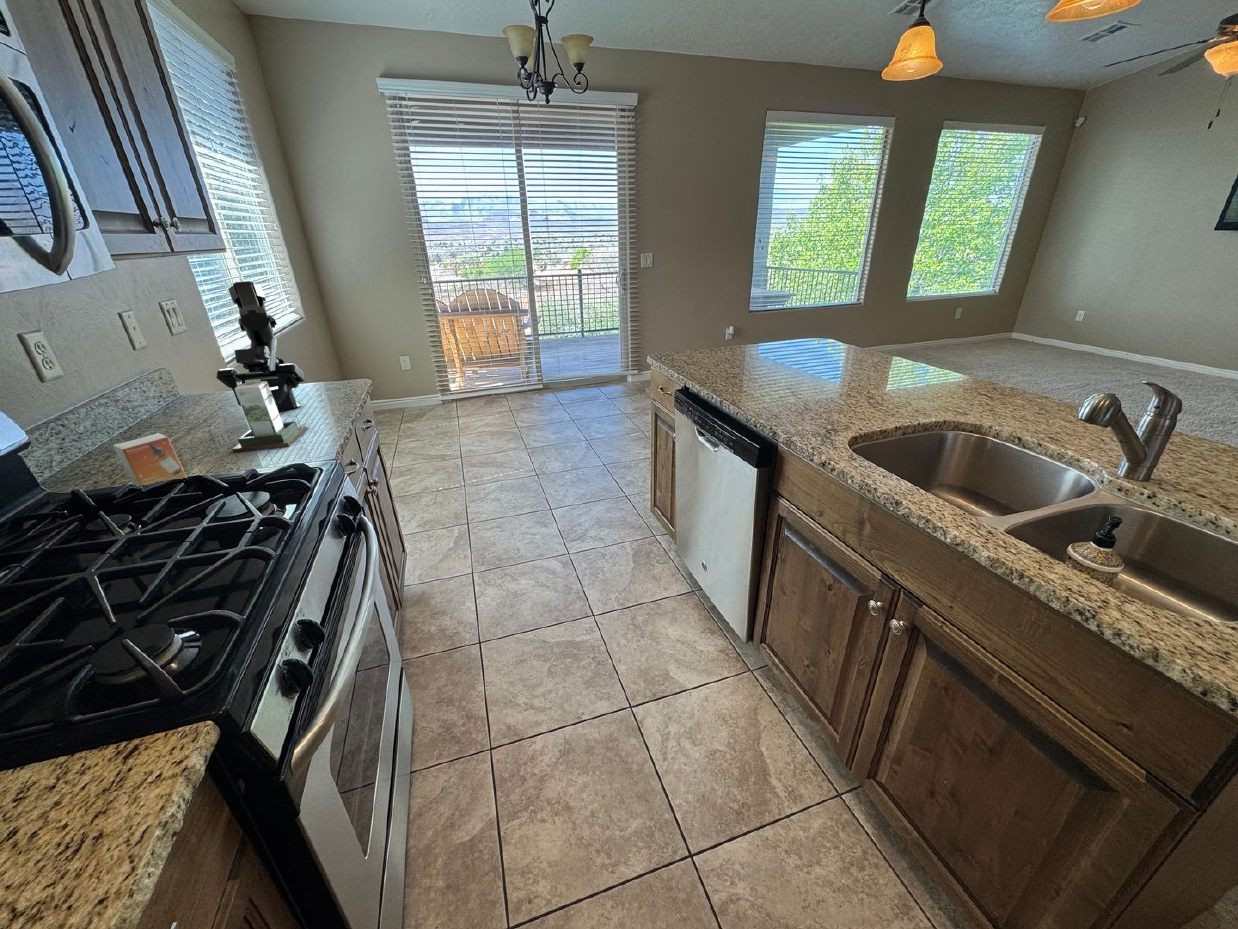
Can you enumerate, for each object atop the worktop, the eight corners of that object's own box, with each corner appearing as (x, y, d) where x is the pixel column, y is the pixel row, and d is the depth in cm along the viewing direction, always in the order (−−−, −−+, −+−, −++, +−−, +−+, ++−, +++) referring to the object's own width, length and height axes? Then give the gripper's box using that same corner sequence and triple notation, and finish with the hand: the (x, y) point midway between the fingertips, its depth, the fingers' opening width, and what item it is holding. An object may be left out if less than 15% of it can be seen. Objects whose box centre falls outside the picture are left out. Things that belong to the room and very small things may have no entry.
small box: (144, 494, 104) (120, 449, 99) (134, 488, 107) (111, 444, 102) (188, 479, 110) (168, 436, 105) (178, 474, 113) (158, 432, 108)
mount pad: (256, 434, 135) (252, 424, 133) (306, 428, 137) (303, 419, 136) (233, 452, 123) (228, 441, 122) (288, 446, 125) (284, 435, 124)
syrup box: (286, 431, 133) (267, 379, 127) (278, 438, 128) (258, 385, 122) (263, 434, 132) (242, 382, 126) (254, 442, 127) (233, 388, 120)
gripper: (204, 338, 123) (198, 392, 118) (285, 332, 126) (282, 385, 121) (232, 361, 133) (227, 412, 128) (306, 355, 136) (304, 405, 131)
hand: (260, 403), depth 127 cm, fingers open, 9 cm apart
